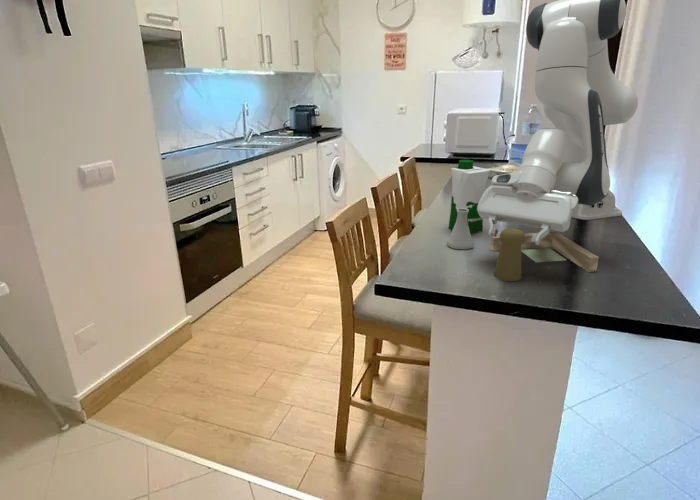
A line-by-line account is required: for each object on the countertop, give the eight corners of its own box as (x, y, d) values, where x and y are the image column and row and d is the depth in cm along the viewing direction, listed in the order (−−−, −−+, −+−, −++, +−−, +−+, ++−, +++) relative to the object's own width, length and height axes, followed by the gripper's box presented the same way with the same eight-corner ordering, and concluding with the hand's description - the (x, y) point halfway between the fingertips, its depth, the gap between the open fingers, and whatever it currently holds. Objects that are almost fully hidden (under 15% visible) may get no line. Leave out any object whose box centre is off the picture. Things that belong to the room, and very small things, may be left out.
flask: (443, 241, 123) (445, 206, 119) (468, 240, 124) (471, 205, 120) (450, 250, 116) (453, 214, 113) (477, 249, 117) (481, 213, 113)
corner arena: (553, 244, 120) (555, 231, 119) (596, 271, 103) (598, 257, 102) (489, 247, 118) (490, 235, 117) (521, 276, 101) (524, 262, 100)
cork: (523, 282, 99) (530, 235, 95) (494, 280, 100) (500, 233, 96) (519, 270, 104) (525, 226, 100) (492, 269, 105) (497, 224, 101)
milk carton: (466, 223, 137) (472, 158, 130) (487, 231, 130) (494, 162, 122) (443, 228, 134) (448, 160, 126) (464, 237, 126) (470, 166, 119)
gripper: (581, 201, 100) (563, 255, 96) (492, 190, 111) (472, 237, 108) (580, 185, 95) (561, 241, 91) (486, 175, 107) (466, 224, 103)
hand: (512, 239), depth 99 cm, fingers open, 8 cm apart
